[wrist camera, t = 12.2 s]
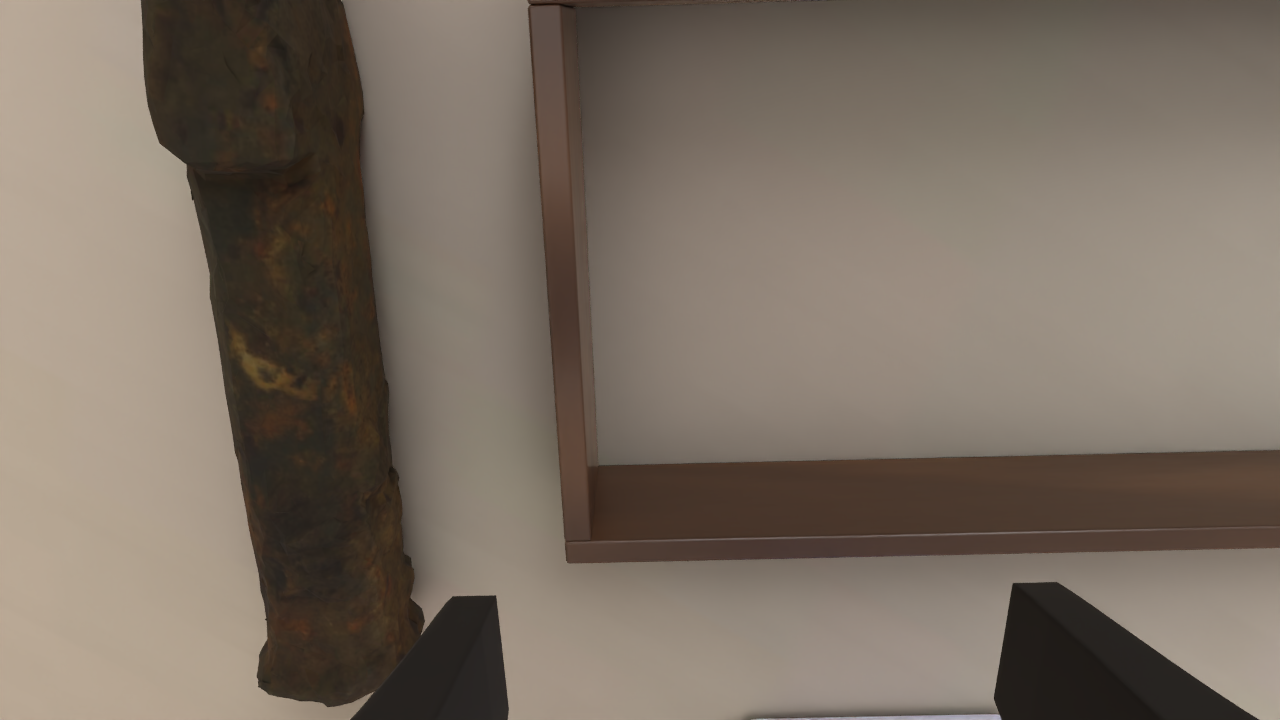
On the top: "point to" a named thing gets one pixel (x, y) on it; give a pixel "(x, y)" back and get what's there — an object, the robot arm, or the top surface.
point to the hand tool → (293, 324)
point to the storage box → (839, 489)
